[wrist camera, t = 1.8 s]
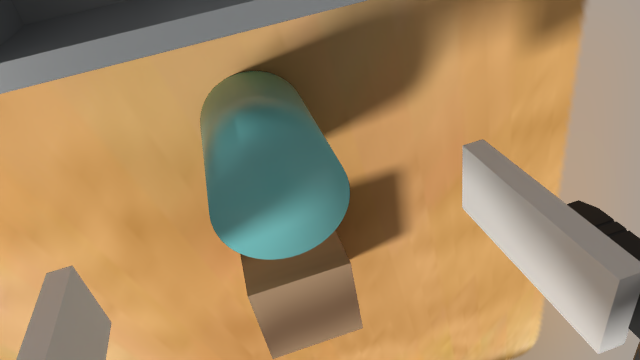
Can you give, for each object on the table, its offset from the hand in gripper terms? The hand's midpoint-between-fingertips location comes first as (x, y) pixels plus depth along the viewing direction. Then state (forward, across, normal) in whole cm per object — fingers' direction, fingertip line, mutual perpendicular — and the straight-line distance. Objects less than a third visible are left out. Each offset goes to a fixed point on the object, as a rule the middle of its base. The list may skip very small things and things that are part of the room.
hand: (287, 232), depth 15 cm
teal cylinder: (+8, 0, 0) cm, 8 cm away
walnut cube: (+8, 0, -8) cm, 12 cm away
